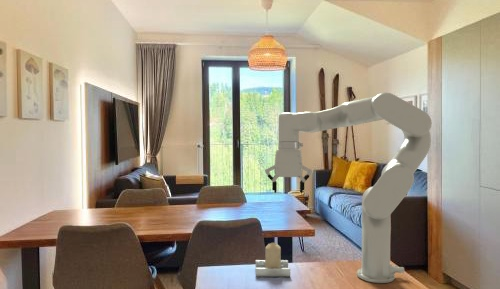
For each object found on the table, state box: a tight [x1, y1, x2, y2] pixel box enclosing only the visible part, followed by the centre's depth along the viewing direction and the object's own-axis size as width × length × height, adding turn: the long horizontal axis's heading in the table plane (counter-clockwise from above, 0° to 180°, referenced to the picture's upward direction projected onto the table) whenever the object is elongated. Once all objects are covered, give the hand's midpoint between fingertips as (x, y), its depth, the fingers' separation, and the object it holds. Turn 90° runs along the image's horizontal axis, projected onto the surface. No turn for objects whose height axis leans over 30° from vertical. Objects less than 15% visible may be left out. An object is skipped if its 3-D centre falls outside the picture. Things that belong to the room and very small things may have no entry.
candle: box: [264, 242, 282, 268], centre depth 136 cm, size 6×6×10 cm
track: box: [255, 259, 291, 279], centre depth 136 cm, size 12×9×3 cm
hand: (288, 192), depth 140 cm, fingers open, 9 cm apart
